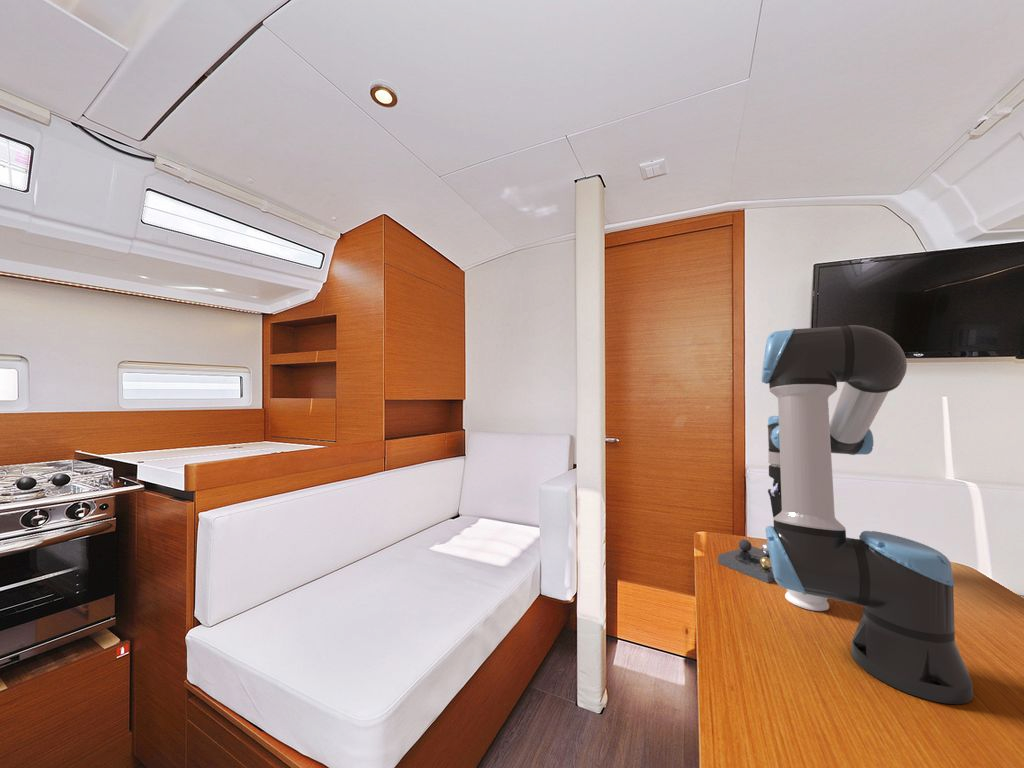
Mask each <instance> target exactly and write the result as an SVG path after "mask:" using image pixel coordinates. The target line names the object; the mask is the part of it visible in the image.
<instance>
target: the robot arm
mask: <svg viewBox="0 0 1024 768" xmlns="http://www.w3.org/2000/svg"><path fill="white" fill-rule="evenodd" d="M907 362H908V361H907V358H906V355H905V352H904V350H903V349H902V347H901V346H900V344H899V343H898V342H897V341H896V340H894V338H893V337H892V336H890V335H888V334H887V333H885V332H883V331H881V330H880V329H876V328H874V327H870V326H865V325H858V324H857V325H856V324H854V325H850V324H849V325H846V326H845V325H844V326H841V325H840V326H825V327H808V328H792V329H786V330H785V329H784V330H776V331H773V332H772V333H770V334H769V335H768V336H767V339H766V343H765V349H764V355H763V364H762V372H761V382H762V383H764V384H766V385H769V392H770V393H771V394H772V395H774V396H775V397H776V398H777V404H778V405H777V407H778V409H777V410H778V412H777V413H778V415H771V416H768V418H767V419H768V420H767V421H768V422H767V437H768V438H767V440H768V441H767V442H768V443H767V444H768V464H769V466H768V477H770V478H771V479H773V482H772V488H771V489H770V488H768V490H767V493H768V495H769V499H770V504H771V505H770V506H771V512H772V516H773V517H772V519H773V525H769V526H766V527H765V534H766V535H765V537H766V543H767V544H768V550H769V556H770V561H771V566H772V570H773V575H774V578H775V581H774V582H776V583H777V585H779V586H780V588H783V589H785V590H786V589H789V590H793V591H797V592H801V593H802V594H804V595H806V594H810V595H815V596H819V597H824V598H828V599H829V600H830V599H831V600H834V601H835V600H836V601H838V602H845V603H848V604H849V603H850V604H855V605H859V606H862V616H861V619H860V621H859V623H858V626H857V627H856V630H855V631H854V633H853V637H852V638H851V656H852V657H853V659H854V661H855V662H856V663H857V665H858V666H859V667H861V668H862V669H863V670H865V672H867V673H868V674H869V675H871V676H873V677H874V678H876V679H877V680H879V681H881V682H883V683H884V684H886V685H889V686H890V687H893V688H895V689H896V690H900V691H901V692H903V693H906V694H909V695H913V696H915V697H918V698H920V699H924V700H927V701H932V702H936V703H942V704H948V705H963V704H967V703H970V702H971V701H972V700H973V698H974V691H973V690H974V689H973V688H974V687H973V679H972V678H971V675H970V673H969V671H968V668H967V667H966V664H965V662H964V660H963V657H962V655H961V653H960V651H959V649H958V646H957V643H956V633H955V632H956V631H955V630H956V629H955V627H956V626H955V603H954V597H955V596H954V595H955V594H954V586H955V585H956V584H955V583H956V582H954V575H953V569H952V568H953V567H952V564H951V561H950V560H949V558H948V557H947V556H946V555H945V554H943V553H942V552H940V551H939V550H938V549H935V548H933V547H930V546H928V545H926V544H924V543H921V542H919V541H915V540H912V539H909V538H906V537H904V536H899V535H896V534H891V533H887V532H881V531H875V530H871V531H870V530H864V531H862V532H861V533H860V535H859V538H851V537H847V531H846V530H847V529H846V527H845V525H843V524H842V523H841V522H840V521H839V520H838V519H837V518H836V515H835V514H836V512H835V500H834V499H835V498H834V497H835V496H834V481H833V480H834V479H833V463H832V454H841V455H844V454H845V455H851V456H856V455H866V456H867V455H869V454H871V453H872V452H873V450H874V449H873V447H874V435H873V432H872V430H871V428H870V427H871V425H872V424H873V421H874V420H875V418H876V416H877V414H878V412H879V411H880V409H881V407H882V405H883V403H884V401H885V399H886V397H887V395H888V393H889V392H891V391H894V390H896V389H897V388H898V387H899V386H900V385H901V383H902V381H903V380H904V377H905V375H906V373H907V368H908V364H907ZM838 383H844V384H843V387H842V388H841V392H840V395H839V397H838V401H837V403H836V406H835V408H834V411H833V413H832V417H831V419H830V415H829V414H830V413H829V412H830V410H829V409H830V408H829V398H830V396H832V395H833V394H834V393H835V392H836V391H837V390H838Z"/></svg>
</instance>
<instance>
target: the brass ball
mask: <svg viewBox="0 0 1024 768" xmlns="http://www.w3.org/2000/svg"><path fill="white" fill-rule="evenodd" d="M760 565H761V566H762V567H763V568H765V569H770V568H771V567H772V566H771V561H770V559H769V558H768V557H762V558H761V559H760Z"/></svg>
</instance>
